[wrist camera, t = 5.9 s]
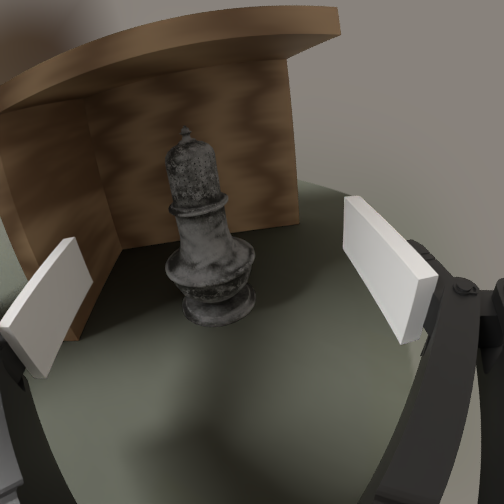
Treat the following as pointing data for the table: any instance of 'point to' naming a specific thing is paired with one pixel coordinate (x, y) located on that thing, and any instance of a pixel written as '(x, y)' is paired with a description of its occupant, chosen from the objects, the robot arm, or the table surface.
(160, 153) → the walnut shelf
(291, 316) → the table surface
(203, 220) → the grey figurine
